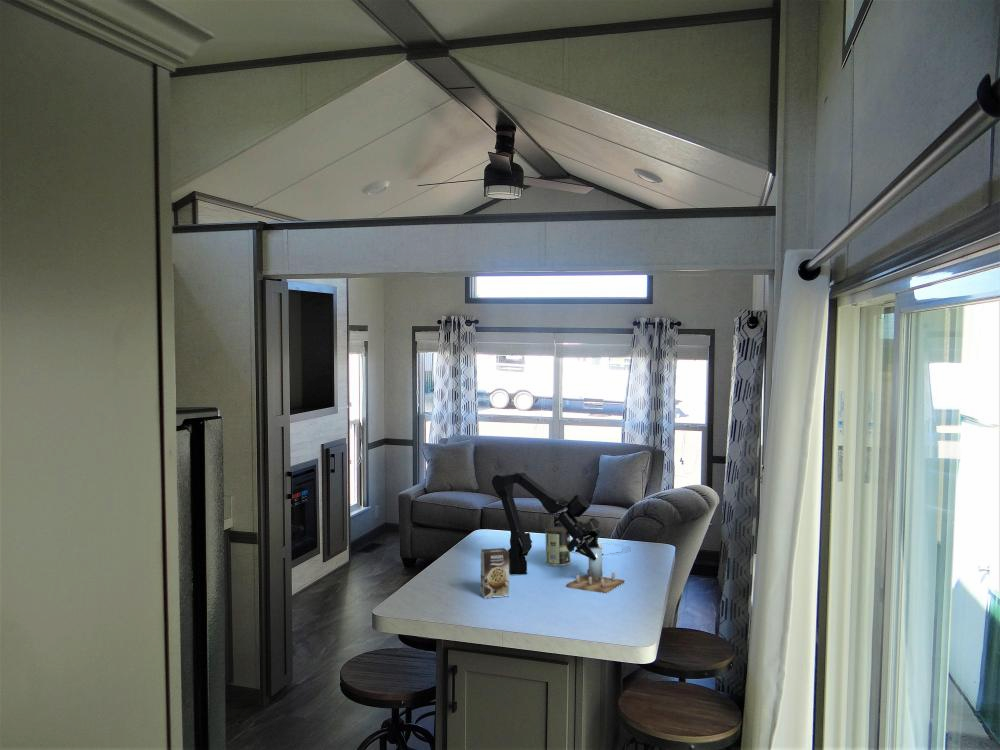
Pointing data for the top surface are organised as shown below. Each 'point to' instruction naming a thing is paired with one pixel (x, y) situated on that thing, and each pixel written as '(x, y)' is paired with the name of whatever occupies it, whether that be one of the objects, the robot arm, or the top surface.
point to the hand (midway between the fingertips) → (598, 558)
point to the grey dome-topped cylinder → (596, 563)
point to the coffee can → (557, 546)
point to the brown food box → (494, 572)
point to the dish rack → (595, 583)
